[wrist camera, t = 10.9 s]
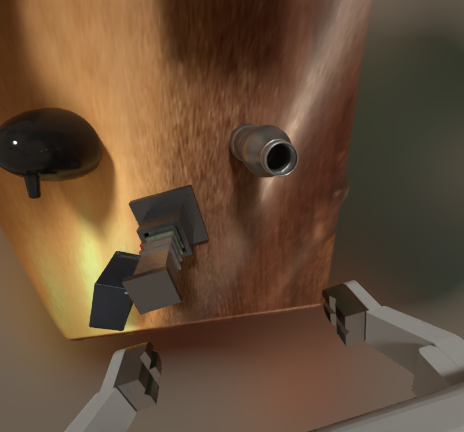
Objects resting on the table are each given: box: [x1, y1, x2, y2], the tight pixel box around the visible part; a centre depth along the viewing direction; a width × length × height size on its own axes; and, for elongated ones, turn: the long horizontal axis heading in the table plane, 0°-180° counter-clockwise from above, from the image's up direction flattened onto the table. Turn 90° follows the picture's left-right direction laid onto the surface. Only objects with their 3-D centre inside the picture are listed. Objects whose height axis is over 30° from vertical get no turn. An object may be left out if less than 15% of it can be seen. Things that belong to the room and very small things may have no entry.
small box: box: [89, 251, 141, 331], centre depth 44 cm, size 11×6×10 cm, turn 161°
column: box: [122, 225, 184, 314], centre depth 33 cm, size 5×5×15 cm
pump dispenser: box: [0, 108, 102, 199], centre depth 30 cm, size 10×10×15 cm
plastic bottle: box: [229, 124, 299, 178], centre depth 32 cm, size 6×7×20 cm
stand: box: [129, 185, 209, 257], centre depth 41 cm, size 12×12×10 cm
